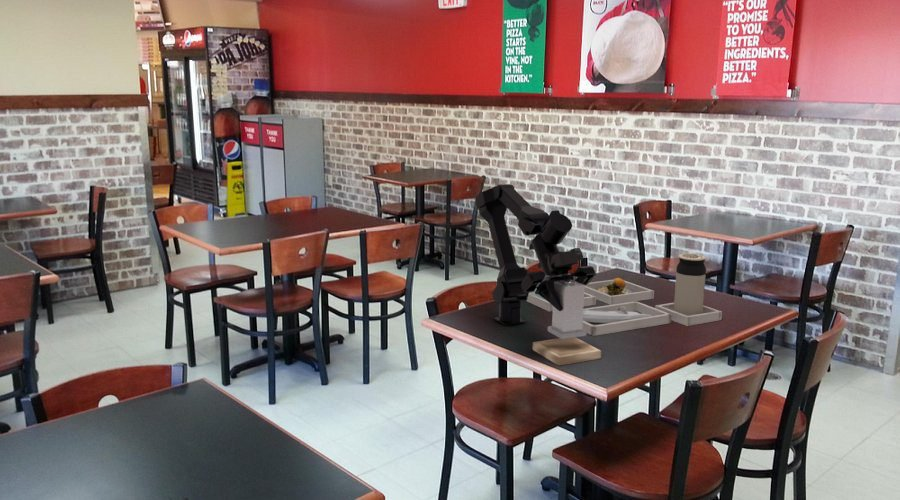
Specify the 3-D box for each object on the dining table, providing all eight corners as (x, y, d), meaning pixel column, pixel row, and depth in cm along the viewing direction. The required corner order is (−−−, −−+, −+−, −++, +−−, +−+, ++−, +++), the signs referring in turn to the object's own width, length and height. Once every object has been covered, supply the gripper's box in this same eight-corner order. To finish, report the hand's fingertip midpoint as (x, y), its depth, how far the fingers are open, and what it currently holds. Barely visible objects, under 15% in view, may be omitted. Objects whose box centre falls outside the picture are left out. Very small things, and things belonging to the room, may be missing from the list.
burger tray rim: (577, 291, 239) (577, 284, 238) (618, 286, 246) (619, 278, 246) (610, 304, 224) (610, 296, 223) (653, 298, 231) (654, 290, 231)
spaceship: (580, 327, 203) (580, 311, 202) (571, 320, 210) (572, 305, 209) (658, 322, 208) (659, 307, 207) (647, 316, 214) (648, 301, 213)
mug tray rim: (654, 313, 215) (655, 305, 215) (688, 308, 221) (688, 300, 220) (686, 326, 204) (687, 317, 203) (721, 320, 209) (722, 311, 209)
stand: (532, 349, 184) (532, 341, 183) (573, 343, 189) (573, 335, 188) (558, 365, 173) (558, 357, 173) (600, 358, 178) (601, 350, 178)
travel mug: (671, 319, 210) (676, 257, 206) (674, 311, 217) (678, 252, 214) (701, 322, 207) (706, 260, 203) (702, 314, 214) (707, 254, 211)
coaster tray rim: (518, 297, 232) (518, 289, 231) (563, 291, 239) (563, 284, 238) (548, 311, 217) (549, 303, 216) (595, 304, 224) (595, 296, 223)
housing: (547, 331, 181) (549, 279, 179) (571, 327, 184) (573, 276, 181) (561, 339, 176) (564, 285, 173) (586, 335, 179) (589, 283, 176)
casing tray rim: (560, 320, 208) (560, 312, 207) (635, 309, 219) (636, 301, 219) (592, 336, 195) (593, 327, 194) (671, 323, 206) (671, 314, 206)
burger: (610, 289, 243) (611, 267, 242) (641, 296, 235) (642, 273, 233) (588, 295, 235) (589, 272, 234) (619, 303, 227) (620, 279, 225)
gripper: (528, 239, 175) (551, 296, 167) (593, 234, 182) (618, 288, 175) (511, 264, 183) (532, 319, 176) (574, 258, 191) (597, 310, 184)
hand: (571, 308), depth 177 cm, fingers closed on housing, 5 cm apart
